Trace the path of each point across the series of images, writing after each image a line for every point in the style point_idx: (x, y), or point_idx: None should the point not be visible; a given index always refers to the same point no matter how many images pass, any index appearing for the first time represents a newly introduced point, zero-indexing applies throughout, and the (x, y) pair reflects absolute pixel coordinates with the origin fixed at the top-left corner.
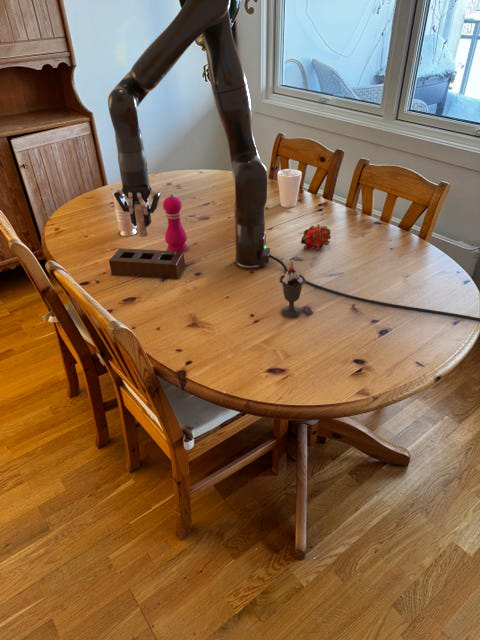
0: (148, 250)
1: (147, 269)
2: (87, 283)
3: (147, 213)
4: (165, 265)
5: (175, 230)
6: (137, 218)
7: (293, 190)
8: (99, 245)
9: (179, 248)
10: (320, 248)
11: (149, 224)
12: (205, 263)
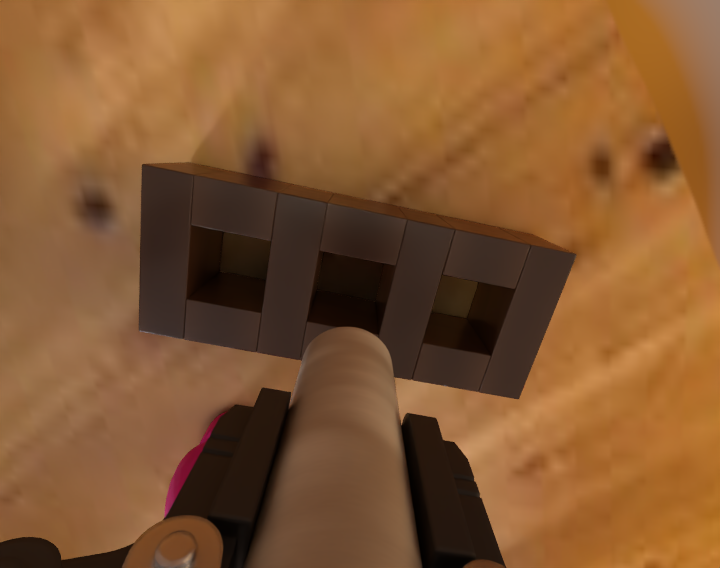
0: None
1: (341, 199)
2: (655, 156)
3: (147, 540)
4: (218, 177)
5: None
6: (375, 472)
7: None
8: (597, 501)
9: None
10: None
11: (234, 406)
12: (87, 313)
